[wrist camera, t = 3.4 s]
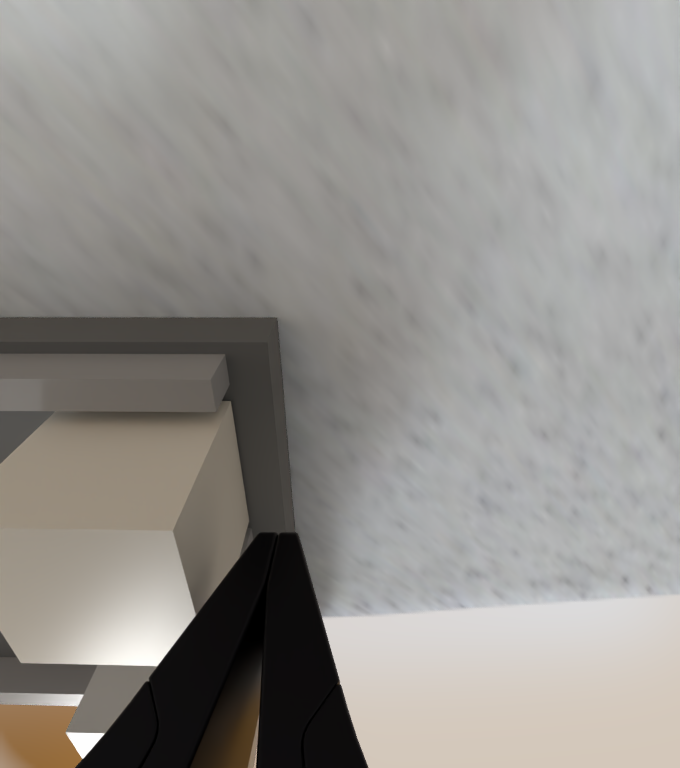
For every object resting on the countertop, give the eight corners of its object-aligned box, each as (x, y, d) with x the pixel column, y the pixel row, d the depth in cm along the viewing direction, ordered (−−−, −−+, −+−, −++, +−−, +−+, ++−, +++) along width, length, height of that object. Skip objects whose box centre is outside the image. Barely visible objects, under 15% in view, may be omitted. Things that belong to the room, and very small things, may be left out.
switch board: (277, 317, 11) (257, 367, 9) (304, 640, 18) (297, 715, 16) (-327, 317, 12) (-495, 364, 10) (-78, 632, 19) (-139, 704, 16)
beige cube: (230, 401, 11) (172, 530, 7) (249, 520, 13) (210, 666, 9) (67, 400, 11) (-66, 527, 7) (110, 518, 13) (21, 663, 9)
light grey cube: (259, 588, 14) (229, 736, 11) (270, 659, 16) (247, 804, 13) (135, 586, 14) (65, 732, 11) (161, 657, 16) (109, 800, 13)
